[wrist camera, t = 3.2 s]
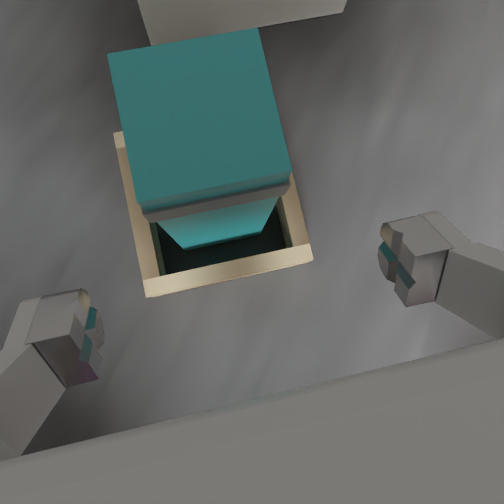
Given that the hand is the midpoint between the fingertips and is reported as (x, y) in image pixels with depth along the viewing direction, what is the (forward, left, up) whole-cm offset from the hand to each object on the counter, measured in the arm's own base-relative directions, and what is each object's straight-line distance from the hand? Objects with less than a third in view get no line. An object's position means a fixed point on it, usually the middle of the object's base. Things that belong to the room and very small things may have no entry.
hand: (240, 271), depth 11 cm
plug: (0, +4, -10) cm, 11 cm away
